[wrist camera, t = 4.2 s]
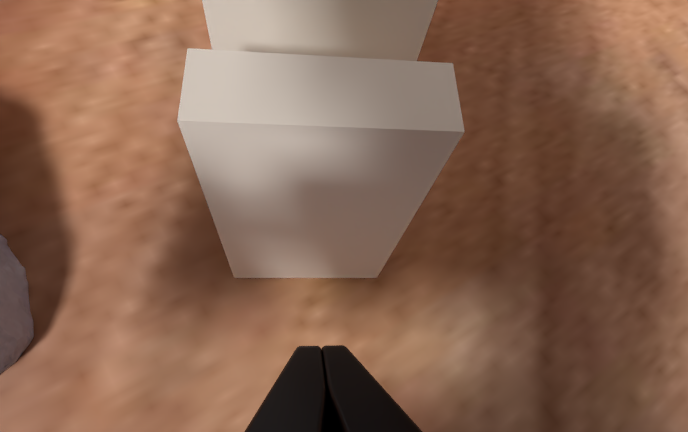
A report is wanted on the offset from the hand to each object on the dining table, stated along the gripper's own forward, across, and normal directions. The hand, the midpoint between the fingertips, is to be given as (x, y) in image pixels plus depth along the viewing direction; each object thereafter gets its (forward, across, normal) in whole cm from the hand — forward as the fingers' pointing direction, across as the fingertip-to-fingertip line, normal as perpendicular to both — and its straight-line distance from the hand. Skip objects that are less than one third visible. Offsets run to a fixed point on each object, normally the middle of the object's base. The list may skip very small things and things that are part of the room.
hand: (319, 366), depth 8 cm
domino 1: (+8, 0, +2) cm, 8 cm away
